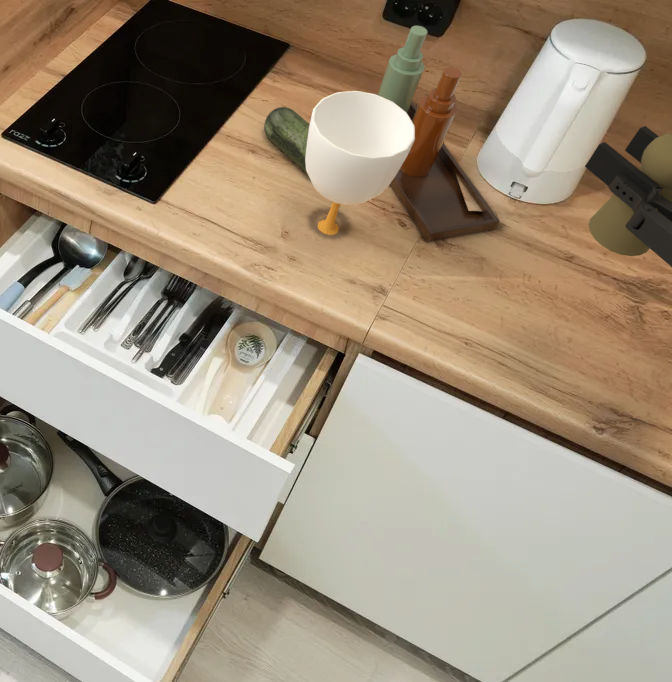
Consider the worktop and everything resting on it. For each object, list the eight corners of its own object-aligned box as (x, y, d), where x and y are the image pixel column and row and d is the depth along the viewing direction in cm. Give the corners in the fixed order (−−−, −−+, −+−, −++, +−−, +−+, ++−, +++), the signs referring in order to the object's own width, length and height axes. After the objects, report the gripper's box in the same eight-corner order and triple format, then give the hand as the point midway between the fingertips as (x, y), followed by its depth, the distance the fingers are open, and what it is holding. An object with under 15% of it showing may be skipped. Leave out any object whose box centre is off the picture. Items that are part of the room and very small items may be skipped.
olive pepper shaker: (658, 230, 80) (729, 143, 71) (641, 265, 76) (713, 179, 68) (599, 202, 81) (661, 114, 73) (580, 236, 78) (642, 147, 69)
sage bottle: (397, 113, 118) (433, 20, 105) (404, 135, 115) (441, 42, 103) (365, 112, 117) (397, 18, 105) (371, 134, 114) (404, 40, 102)
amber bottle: (426, 154, 113) (466, 61, 101) (434, 177, 110) (476, 85, 98) (393, 153, 112) (429, 59, 100) (399, 176, 109) (438, 83, 97)
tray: (493, 232, 105) (500, 221, 103) (424, 245, 103) (430, 233, 101) (400, 102, 120) (405, 91, 118) (339, 111, 118) (342, 99, 116)
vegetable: (346, 179, 109) (355, 150, 105) (318, 193, 107) (326, 164, 103) (279, 121, 116) (286, 92, 111) (252, 134, 113) (258, 104, 109)
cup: (342, 189, 108) (379, 82, 94) (390, 250, 102) (437, 145, 88) (266, 210, 105) (292, 101, 91) (310, 274, 99) (346, 168, 85)
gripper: (734, 388, 65) (529, 203, 76) (863, 312, 71) (655, 150, 82) (800, 333, 59) (567, 140, 70) (935, 255, 65) (700, 89, 76)
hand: (615, 146), depth 76 cm, fingers closed on olive pepper shaker, 5 cm apart
